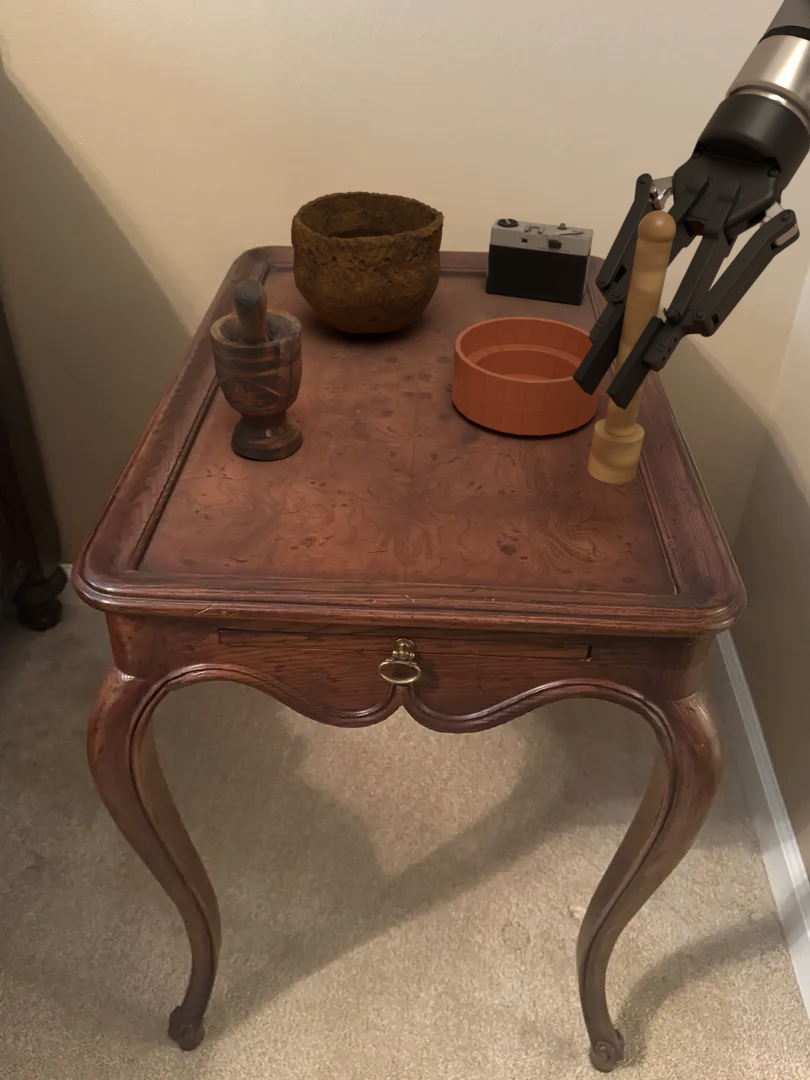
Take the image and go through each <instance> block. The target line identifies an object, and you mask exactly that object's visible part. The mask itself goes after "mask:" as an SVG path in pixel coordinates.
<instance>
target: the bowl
mask: <svg viewBox="0 0 810 1080" xmlns="http://www.w3.org/2000/svg"><path fill="white" fill-rule="evenodd" d="M444 219H445V216H444V214H443V211H439V210H438V209H436V208H434V207H432V206H431V205H429V204H425V202H422V201H420V200H418V199H416V198H414V197H412V198H411V197H407V196H403V195H397V194H388V193H380V192H374V191H371V192H369V191H361V190H360V191H347V192H340V191H339V192H333V193H329V194H328V193H327V194H325V195H321V196H318V197H316V198H315V199H312V200H309V201H308V202H306V203H305V204H303V205H301V206H300V207H299V209H298V210H297V212H296V214H295V215H293V217H292V220H291V227H290V241H291V242H290V243H291V246H292V248H293V263H292V267H293V277H294V278H293V279H294V283H295V287H296V289H297V290H298V292H299V293H300V295H301V296H302V297H303V299H304V300H305V301H306V302H307V304H308V305H309V307H311V309H313V311H314V312H315V313H316V314H317V315H318V316H319V317H320V318H321V319H322V320H323V321H324V322H325V323H326V324H328V325H329V326H331V327H333V328H336V329H338V330H340V331H342V332H346V333H348V334H349V333H350V334H381V333H391V332H394V331H398V330H401V329H403V328H404V327H406V326H408V325H409V324H411V323H412V322H414V321H415V320H416V319H418V318H419V317H420V316H421V315H422V314H423V313H424V311H425V310H426V308H427V307H428V305H429V303H430V302H431V300H432V298H433V296H434V295H435V292H436V290H437V288H438V285H439V282H440V277H441V273H442V269H441V268H442V267H441V253H440V249H441V246H442V240H443V227H444Z"/></svg>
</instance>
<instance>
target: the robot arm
mask: <svg viewBox="0 0 810 1080" xmlns="http://www.w3.org/2000/svg"><path fill="white" fill-rule="evenodd" d="M809 152H810V0H783V1H782V3H781V5H780V6H779V8H778V10H777V12H776V13H775V15H774V17H773V19H772V20H771V22H770V24H769V25H768V27H767V28H766V30H765V32H764V33H763V35H762V37H761V38H760V39H759V41H758V42H757V43H756V45H755V46H754V48H753V49H752V50H751V52H750V54H749V56H748V57H747V58H746V61H745V62H744V63H743V65H742V66H741V68H740V70H739V71H738V73H737V74H736V76H735V78H734V79H733V81H732V82H731V84H730V86H729V87H728V89H727V90H726V92H725V96H724V99H723V100H722V101H720V103H719V104H718V106H717V107H716V109H715V110H714V112H713V113H712V116H711V117H710V119H709V120H708V122H707V123H706V125H705V127H704V128H703V130H702V131H701V133H700V135H699V136H698V138H697V141H696V143H695V146H694V148H693V150H692V153H691V155H690V157H689V158H688V159H687V160H686V161H685V162H683V163H682V164H681V165H680V166H679V167H678V168H677V169H675V171H674V172H673V174H672V175H670V176H665V177H661V178H659V177H658V178H655V179H653V177H652V175H651V174H650V173H649V172H648V173H647V172H645V173H644V172H643V173H641V174H640V175H638V177H637V178H636V180H635V190H634V196H633V202H632V203H631V206H630V207H629V210H628V212H627V214H626V216H625V218H624V220H623V222H622V224H621V226H620V228H619V231H618V233H617V234H616V237H615V239H614V240H613V243H612V244H611V247H610V248H609V251H608V253H607V254H606V257H605V259H604V260H603V261H604V262H603V263H602V265H601V267H600V269H599V272H598V274H597V276H596V278H595V281H594V282H595V283H594V284H595V286H596V287H597V289H598V291H599V292H600V294H601V295H602V297H603V299H604V300H605V301H606V306H605V307H604V309H603V311H602V313H601V314H600V315H599V316H598V318H597V320H596V322H595V323H594V325H593V327H592V328H591V330H590V332H589V333H590V335H589V340H590V341H591V343H592V344H593V345H592V346H591V348H590V350H589V351H588V353H587V354H586V356H585V358H584V359H583V361H582V363H581V364H580V366H579V367H578V369H577V371H576V372H575V374H574V375H573V379H574V380H575V381H576V382H577V384H578V385H579V386H580V387H581V389H582V390H583V391H584V392H585V393H587V394H590V395H593V393H594V392H595V390H596V388H597V387H598V385H599V384H600V382H601V380H602V381H603V380H604V377H605V376H606V374H607V372H608V371H609V369H610V368H611V366H612V364H613V363H614V361H615V360H616V359H617V353H618V348H619V342H620V336H621V331H622V325H623V319H624V313H625V308H626V302H627V296H628V291H629V285H630V279H631V274H632V268H633V262H634V257H635V251H636V245H637V239H638V226H639V224H640V222H641V220H642V219H643V217H644V216H646V215H647V214H648V213H650V212H653V211H664V209H665V208H666V207H665V206H666V203H667V201H668V199H669V197H672V199H673V204H672V205H671V207H670V208H669V209H668V211H666V212H667V213H668V214H670V215H671V216H672V217H673V219H674V221H675V223H676V233H675V236H674V239H673V241H672V246H671V251H670V256H669V261H668V266H667V269H668V268H669V267H670V265H671V264H672V263H673V262H674V260H675V259H676V257H677V256H678V255H679V253H681V251H682V250H683V249H685V248H688V247H689V246H690V245H691V244H692V242H693V241H694V240H695V239H696V237H697V236H698V237H701V238H700V239H701V240H700V242H699V244H698V246H697V248H696V250H695V253H694V254H693V256H692V259H691V261H690V263H689V265H688V266H687V269H686V271H685V273H684V274H683V277H682V279H681V281H680V283H679V286H678V287H677V290H676V292H675V294H674V296H673V298H672V300H671V302H670V304H669V307H667V308H666V307H663V309H662V312H663V316H664V317H665V320H663V318H661V317H658V316H657V317H655V316H653V317H652V318H651V320H650V322H649V323H648V325H647V326H646V328H645V330H644V331H643V333H642V334H641V336H640V338H639V339H638V341H637V342H636V344H635V346H634V347H633V349H632V351H631V352H630V354H629V355H628V357H627V359H626V360H625V362H624V363H623V365H622V367H621V368H620V370H619V371H618V373H617V375H616V376H615V378H614V380H613V379H612V381H611V382H610V384H609V386H608V388H607V389H606V391H605V393H606V394H607V395H608V397H609V399H610V398H611V399H612V400H613V402H614V403H615V404H616V406H617V407H620V408H622V409H624V410H626V408H627V406H628V405H629V403H630V402H631V400H632V398H633V397H634V395H635V394H636V392H637V390H638V389H639V387H640V386H641V384H642V382H643V381H644V379H645V380H646V378H647V376H648V375H649V373H650V372H651V371H654V372H656V373H659V372H660V371H661V370H663V369H664V368H665V366H666V365H667V363H668V361H669V360H670V358H671V356H672V355H673V353H674V352H675V350H676V348H677V347H678V345H679V344H680V342H681V341H682V339H683V338H685V337H687V336H689V335H700V336H702V337H703V338H710V337H711V336H713V335H715V333H716V332H717V331H718V330H719V328H720V327H721V326H722V324H723V323H724V322H725V321H726V320H727V318H728V317H729V316H730V315H731V314H732V312H733V311H734V309H735V308H736V307H737V305H738V304H739V303H740V302H741V301H742V299H743V298H744V296H745V295H746V294H747V293H748V291H749V290H750V289H751V288H752V286H753V285H754V284H755V282H756V281H757V280H758V278H759V277H760V276H761V275H762V273H763V272H764V271H765V269H767V267H769V265H770V263H771V262H772V261H773V259H774V258H775V257H776V256H777V255H779V254H780V253H781V252H783V251H784V250H786V249H787V248H789V247H790V246H791V245H793V244H794V243H795V242H796V241H798V239H799V238H800V235H801V232H800V228H799V223H798V220H797V215H796V212H795V210H793V209H791V208H786V209H785V208H783V206H782V195H783V191H784V190H785V189H787V188H788V186H789V184H791V181H792V180H793V179H794V177H795V175H796V173H797V172H798V170H799V168H800V167H801V165H802V164H803V162H804V161H805V159H806V157H807V156H808V154H809ZM757 225H759V228H758V229H756V231H755V232H754V233H753V234H751V236H750V237H749V239H748V240H747V241H746V243H745V244H744V245H743V247H742V248H741V249H740V250H739V252H738V253H737V254H736V256H735V257H734V258H733V259H732V261H731V262H730V263H729V265H728V266H726V268H725V270H724V271H723V272H722V274H721V275H720V276H719V277H718V279H717V280H716V282H714V281H715V279H716V277H717V275H718V273H719V271H720V269H721V267H722V264H723V263H724V260H725V259H728V257H729V256H730V255H731V252H732V250H733V249H734V246H735V244H736V241H737V239H738V238H739V236H740V235H742V234H743V233H745V232H747V231H749V230H750V229H752V228H754V227H756V226H757ZM713 283H714V284H713ZM644 382H645V381H644ZM601 383H602V382H601Z"/></svg>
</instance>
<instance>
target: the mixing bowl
mask: <svg viewBox="0 0 810 1080" xmlns="http://www.w3.org/2000/svg"><path fill="white" fill-rule="evenodd" d="M589 335H590V332H588V331H586V330H585V329H583V328H580V327H577V326H575V325H572V324H570V323H566V322H563V321H559V320H554V319H550V318H544V317H543V318H541V317H535V316H509V317H508V316H505V317H495V318H491V319H487V320H482V321H479V322H477V323H474V324H472V325H469V326H467V327H466V328H465V329H464V330H462V331H460V332H459V334H458V336H456V338H455V341H454V349H453V350H454V351H453V367H452V383H451V384H452V387H451V397H452V399H451V400H452V403H453V404H454V406H455V407H456V410H458V412H459V413H461V414H462V415H463V416H464V417H466V418H467V420H470V421H472V422H474V423H476V424H478V425H480V426H482V427H484V428H488V429H491V430H495V431H497V432H500V433H507V434H512V435H518V436H547V435H556V434H562V433H565V432H568V431H573V430H575V429H578V428H579V427H581V426H583V425H585V424H586V423H589V421H591V419H592V418H593V417H594V416H595V415H596V414H597V409H598V405H599V399H600V393H601V388H602V387H601V386H602V382H603V379H602V380H601V382H600V384H599V385H598V387H597V388H596V390H595V392H594V393H593V395H590V394H587V393H585V392H584V391H583V390H582V389H581V387H580V386H579V385H578V384H577V382H576V381H575V380H574V379H573V375H574V374H575V372H576V371H577V369H578V367H579V366H580V364H581V363H582V361H583V359H584V358H585V356H586V354H587V353H588V351H589V350H590V348H591V346H592V345H593V344H592V343H591V341H590V340H589Z"/></svg>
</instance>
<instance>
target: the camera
mask: <svg viewBox="0 0 810 1080" xmlns="http://www.w3.org/2000/svg"><path fill="white" fill-rule="evenodd" d="M490 228H491V229H490V241H489V245H488V255H487V257H488V259H487V265H486V274H485V275H486V283H485V293H486V294H492V295H499V296H506V297H514V298H521V299H530V300H536V301H537V300H538V301H544V302H550V303H551V302H553V303H558V304H559V303H560V304H567V305H574V306H581V305H582V303H583V300H584V297H585V293H586V287H587V286H586V285H587V279H588V273H589V267H590V261H591V260H590V259H591V251H592V244H593V237H594V230H593V229H591V228H585V227H575V226H567V225H566V223H564V222H561V223H559V225H558V224H557V225H556V224H548V223H539V222H532V221H524V220H517V219H513V218H496V220H495V221H494V223H493V225H492V226H491V227H490Z"/></svg>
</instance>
